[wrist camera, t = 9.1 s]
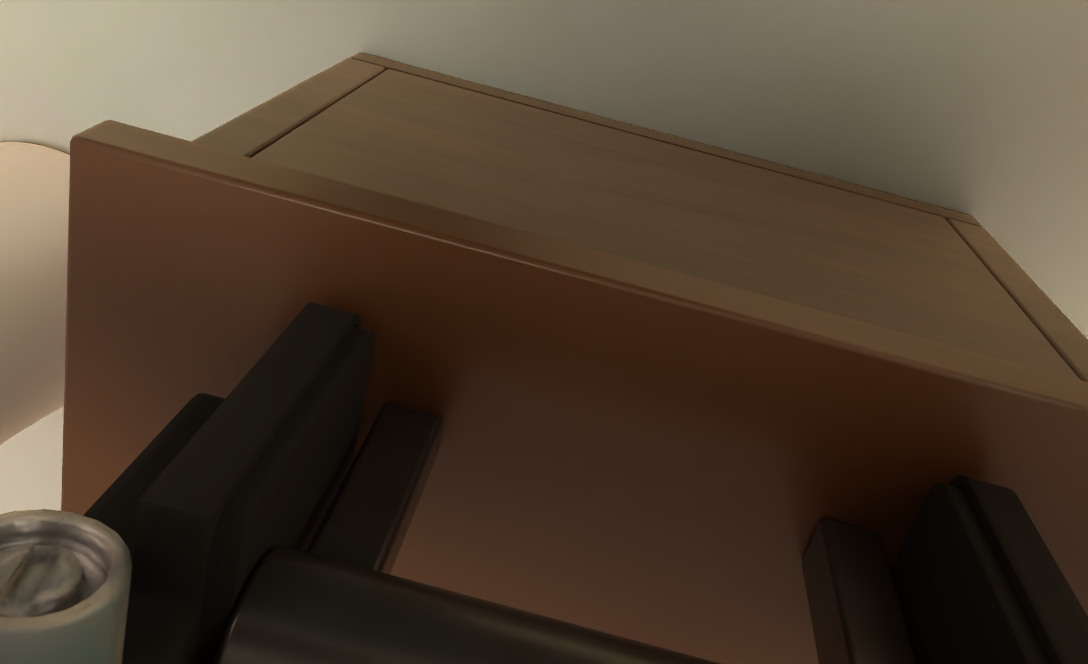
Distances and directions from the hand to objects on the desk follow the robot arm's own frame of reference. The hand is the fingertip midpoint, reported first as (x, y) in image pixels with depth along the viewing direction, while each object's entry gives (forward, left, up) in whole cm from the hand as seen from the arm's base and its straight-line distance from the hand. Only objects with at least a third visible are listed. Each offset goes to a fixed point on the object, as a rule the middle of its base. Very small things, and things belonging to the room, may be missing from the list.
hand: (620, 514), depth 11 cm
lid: (+6, +1, -1) cm, 6 cm away
